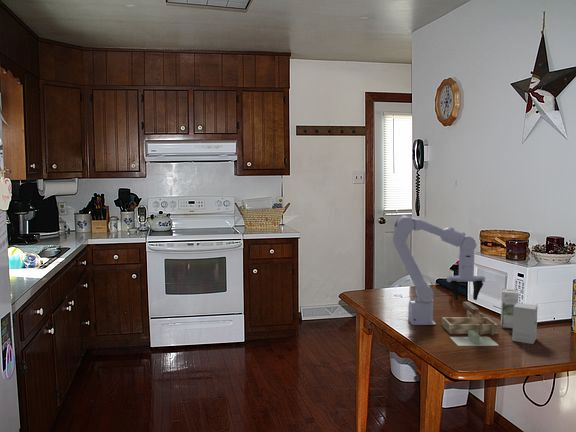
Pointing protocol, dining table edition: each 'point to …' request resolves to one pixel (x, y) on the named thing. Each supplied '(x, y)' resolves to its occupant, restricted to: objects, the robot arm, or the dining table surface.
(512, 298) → the syrup box
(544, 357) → the dining table surface
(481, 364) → the dining table surface
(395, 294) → the dining table surface
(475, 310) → the light brown wooden bar
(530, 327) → the supplement box
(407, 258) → the robot arm
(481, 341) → the lid
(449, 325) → the tan wooden frame
